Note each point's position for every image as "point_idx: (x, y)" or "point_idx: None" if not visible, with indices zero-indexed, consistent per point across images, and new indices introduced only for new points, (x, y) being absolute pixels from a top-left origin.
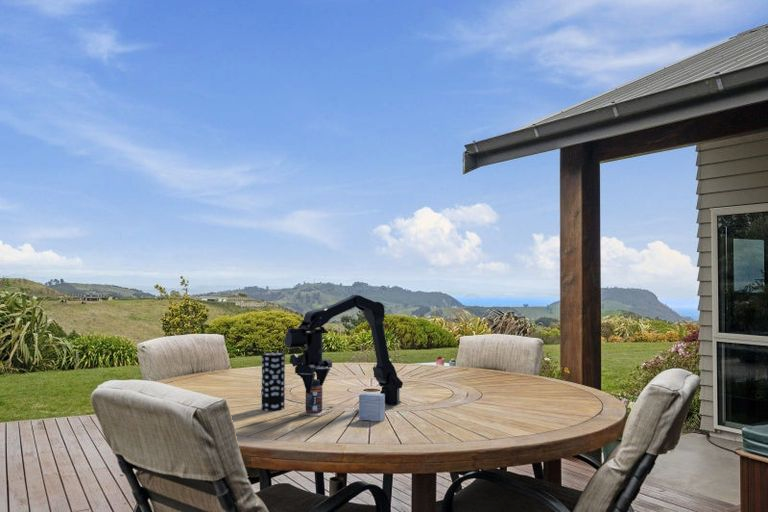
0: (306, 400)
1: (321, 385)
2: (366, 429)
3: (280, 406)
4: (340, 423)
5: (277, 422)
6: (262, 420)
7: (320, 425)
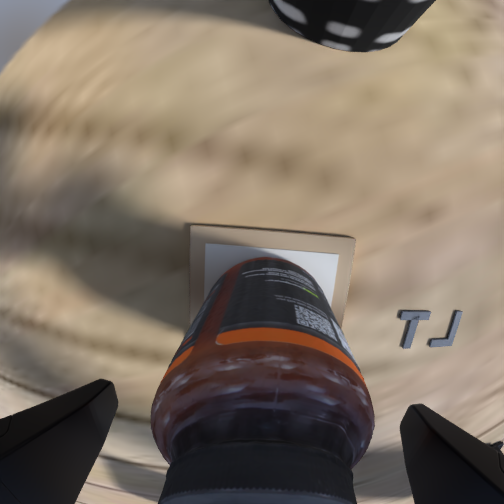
0: (200, 310)
1: (405, 457)
2: (103, 483)
3: (318, 30)
4: (120, 443)
5: (24, 195)
6: (41, 102)
7: (61, 387)
